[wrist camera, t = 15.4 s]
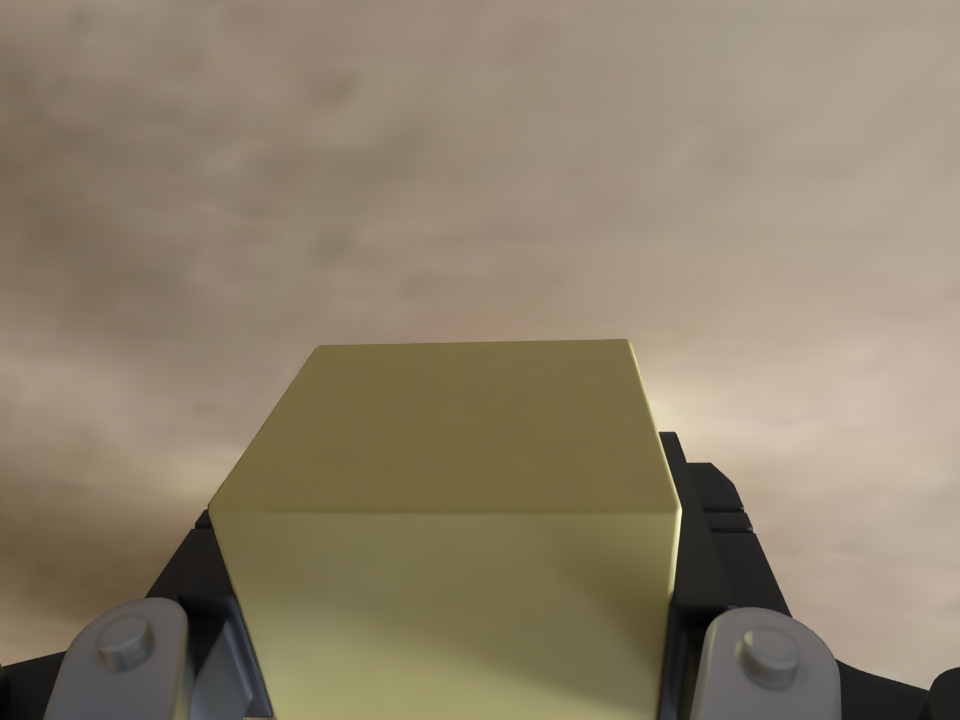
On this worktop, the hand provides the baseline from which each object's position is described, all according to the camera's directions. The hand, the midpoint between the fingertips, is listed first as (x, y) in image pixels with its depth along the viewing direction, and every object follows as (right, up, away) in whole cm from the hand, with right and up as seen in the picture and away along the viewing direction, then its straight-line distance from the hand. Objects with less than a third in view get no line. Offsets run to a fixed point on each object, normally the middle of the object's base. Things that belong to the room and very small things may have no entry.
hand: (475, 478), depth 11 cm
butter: (0, 0, 0) cm, 0 cm away
